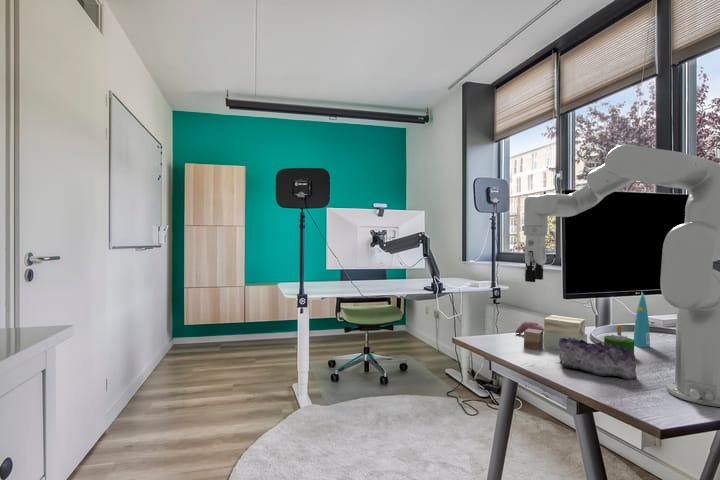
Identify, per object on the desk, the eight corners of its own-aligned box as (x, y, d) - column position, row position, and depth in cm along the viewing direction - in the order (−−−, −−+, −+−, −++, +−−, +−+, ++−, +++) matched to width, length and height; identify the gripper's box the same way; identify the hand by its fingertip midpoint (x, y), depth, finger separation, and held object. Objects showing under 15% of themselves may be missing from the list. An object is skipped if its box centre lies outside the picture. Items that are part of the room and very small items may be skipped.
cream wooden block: (578, 338, 131) (578, 323, 131) (544, 332, 138) (544, 318, 138) (584, 333, 138) (585, 319, 138) (551, 328, 145) (551, 314, 145)
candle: (603, 350, 134) (604, 321, 134) (632, 354, 129) (633, 324, 129) (604, 356, 127) (604, 326, 126) (635, 360, 122) (635, 329, 122)
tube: (632, 342, 144) (633, 290, 144) (648, 344, 142) (649, 291, 141) (634, 347, 138) (635, 293, 137) (651, 349, 135) (652, 294, 135)
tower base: (581, 353, 130) (581, 338, 130) (543, 346, 138) (543, 332, 138) (586, 347, 138) (587, 333, 138) (550, 341, 146) (550, 327, 146)
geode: (638, 372, 112) (640, 340, 111) (635, 390, 103) (637, 354, 102) (560, 355, 125) (561, 326, 123) (552, 370, 116) (553, 338, 114)
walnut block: (539, 351, 132) (539, 333, 132) (523, 348, 135) (524, 331, 135) (542, 347, 136) (543, 330, 136) (528, 345, 139) (528, 328, 139)
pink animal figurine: (541, 344, 146) (547, 327, 147) (533, 339, 144) (539, 322, 145) (521, 337, 155) (527, 321, 156) (513, 333, 153) (519, 317, 154)
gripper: (540, 231, 126) (539, 283, 126) (553, 231, 139) (551, 279, 140) (516, 231, 130) (515, 281, 131) (531, 231, 144) (530, 277, 144)
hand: (534, 280), depth 135 cm, fingers open, 9 cm apart
